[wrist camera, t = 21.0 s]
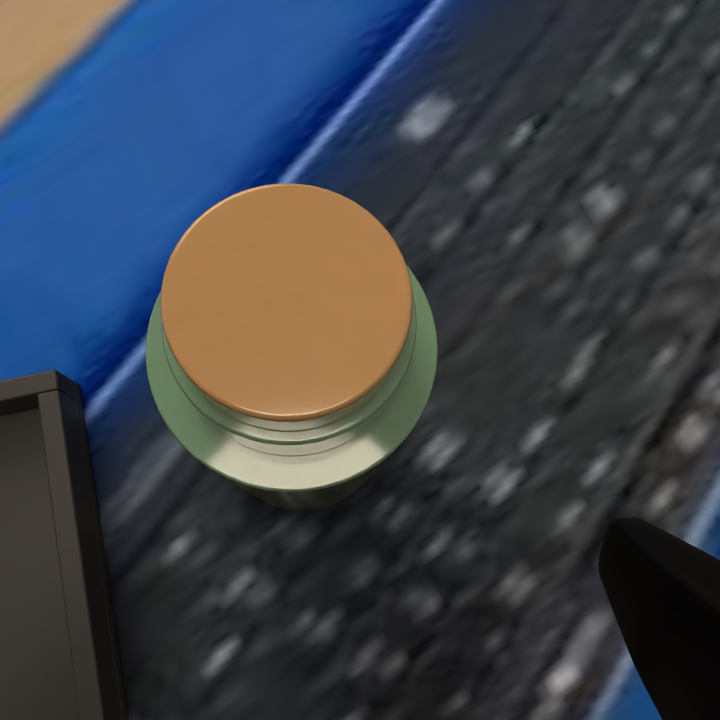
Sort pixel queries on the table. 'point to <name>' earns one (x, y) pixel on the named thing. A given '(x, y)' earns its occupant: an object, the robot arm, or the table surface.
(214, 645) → the table surface
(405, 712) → the table surface
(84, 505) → the baking tray
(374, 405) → the jar
